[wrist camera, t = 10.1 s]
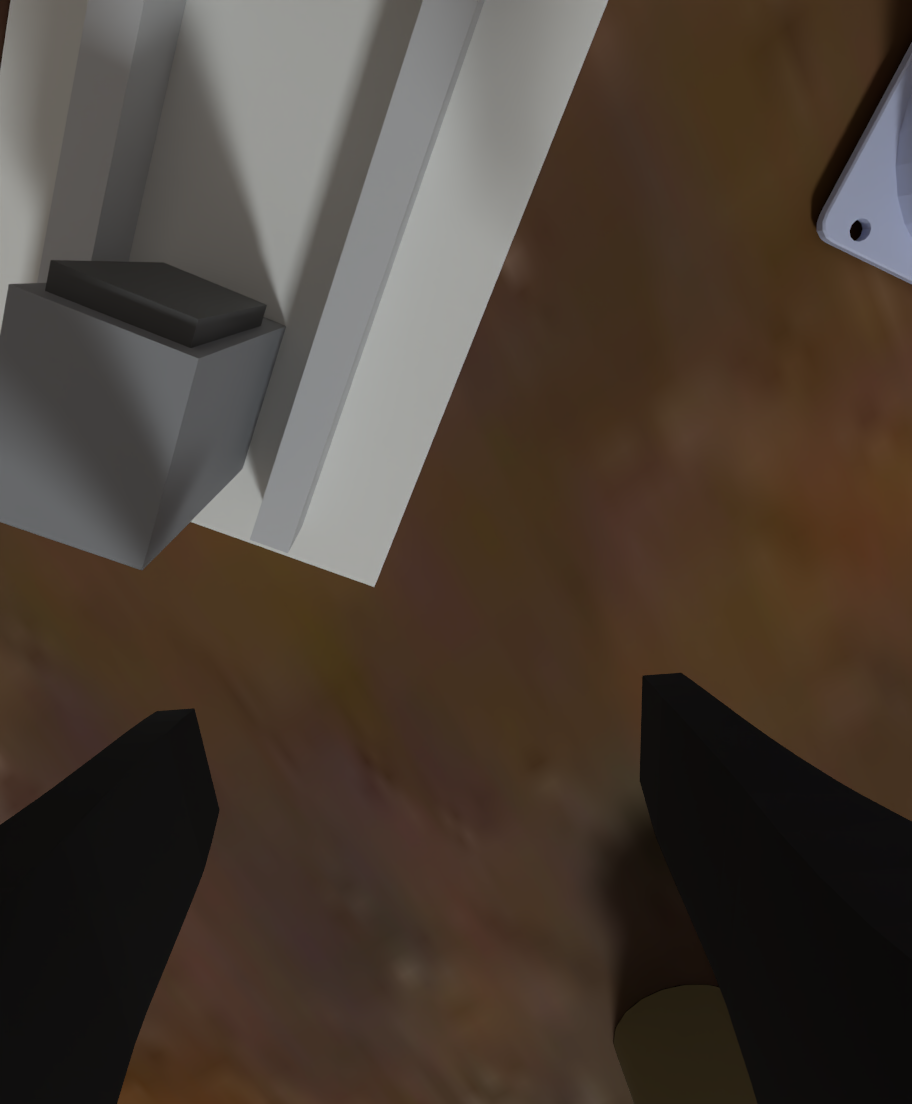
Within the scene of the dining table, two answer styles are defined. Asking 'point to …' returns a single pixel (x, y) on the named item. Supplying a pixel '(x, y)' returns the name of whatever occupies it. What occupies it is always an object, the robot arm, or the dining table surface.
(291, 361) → the rail
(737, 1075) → the cork
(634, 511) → the dining table surface
